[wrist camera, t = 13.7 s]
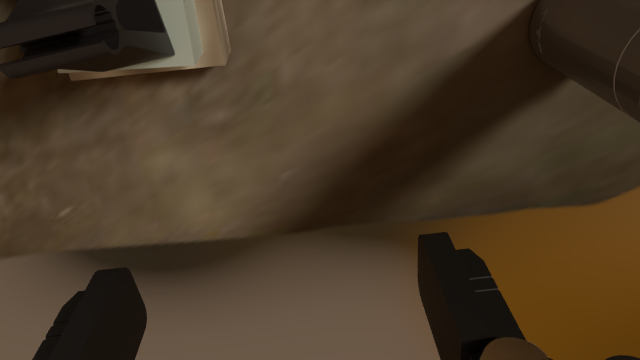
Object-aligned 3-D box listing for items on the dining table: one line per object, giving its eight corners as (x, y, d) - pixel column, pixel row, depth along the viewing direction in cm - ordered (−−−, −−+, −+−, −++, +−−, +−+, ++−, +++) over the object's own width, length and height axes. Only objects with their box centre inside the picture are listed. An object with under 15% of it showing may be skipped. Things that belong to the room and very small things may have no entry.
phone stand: (175, 54, 37) (133, 111, 27) (104, 70, 37) (35, 133, 27) (129, -71, 32) (56, -60, 22) (48, -51, 33) (-61, -31, 22)
